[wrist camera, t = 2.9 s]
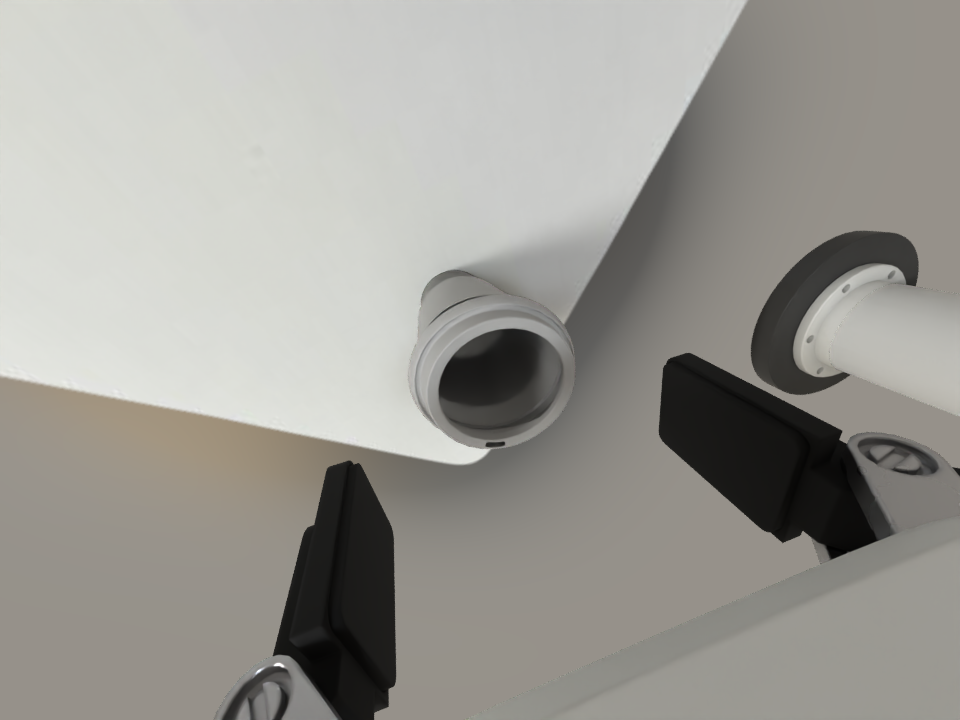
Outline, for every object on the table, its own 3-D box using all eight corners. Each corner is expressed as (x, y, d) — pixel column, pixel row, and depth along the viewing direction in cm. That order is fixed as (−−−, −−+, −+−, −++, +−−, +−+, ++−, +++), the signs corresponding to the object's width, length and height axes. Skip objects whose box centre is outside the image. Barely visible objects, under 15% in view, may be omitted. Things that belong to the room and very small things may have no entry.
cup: (401, 347, 24) (407, 463, 13) (402, 249, 21) (412, 299, 11) (497, 348, 26) (569, 452, 15) (509, 258, 23) (608, 309, 13)
